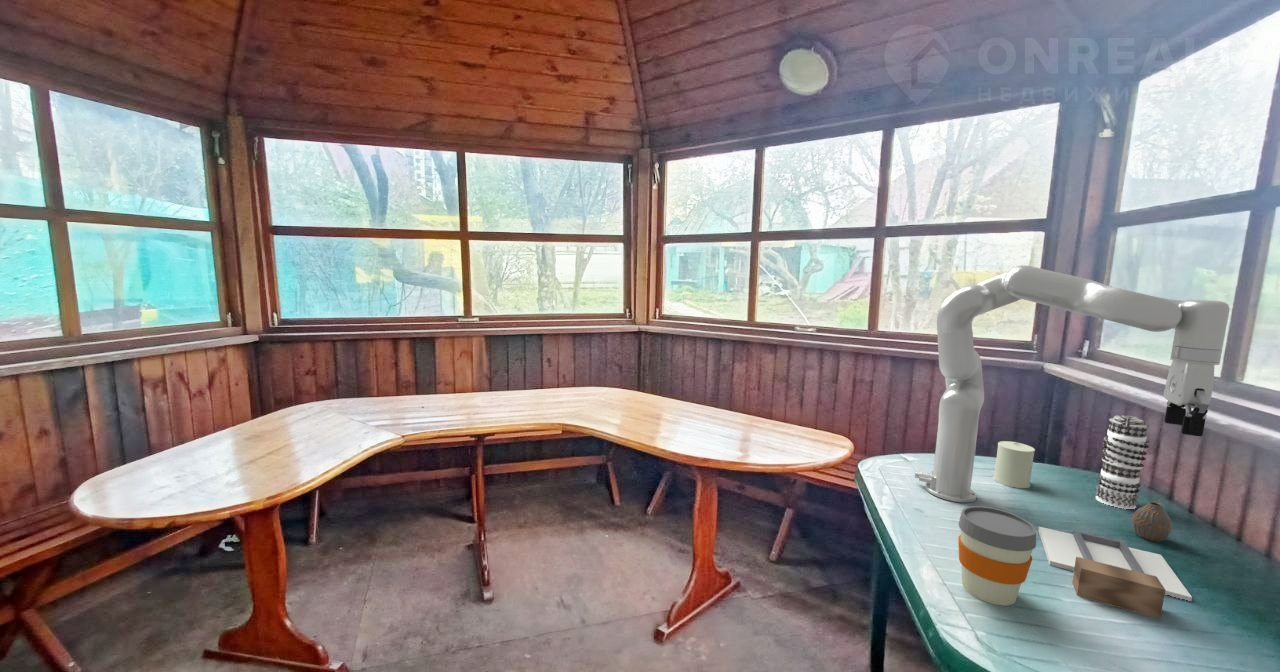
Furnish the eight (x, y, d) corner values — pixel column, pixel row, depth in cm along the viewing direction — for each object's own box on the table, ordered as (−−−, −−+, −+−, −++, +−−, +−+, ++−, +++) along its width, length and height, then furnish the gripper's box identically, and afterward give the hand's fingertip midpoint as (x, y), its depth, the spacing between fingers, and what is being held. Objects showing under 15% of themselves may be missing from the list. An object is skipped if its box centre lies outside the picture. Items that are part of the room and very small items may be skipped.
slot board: (1049, 564, 111) (1051, 554, 111) (1038, 530, 126) (1039, 520, 126) (1191, 601, 100) (1193, 590, 99) (1160, 558, 115) (1161, 548, 114)
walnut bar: (1076, 596, 101) (1081, 568, 100) (1071, 583, 105) (1076, 556, 104) (1160, 619, 94) (1165, 590, 94) (1151, 605, 99) (1156, 576, 98)
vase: (1177, 546, 120) (1183, 512, 119) (1143, 542, 122) (1149, 508, 121) (1154, 532, 127) (1160, 499, 126) (1122, 528, 128) (1128, 495, 127)
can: (1028, 480, 157) (1033, 443, 155) (1031, 491, 149) (1037, 452, 148) (992, 473, 162) (997, 437, 160) (994, 483, 154) (998, 445, 153)
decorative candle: (1147, 511, 139) (1163, 423, 135) (1113, 509, 139) (1128, 421, 135) (1117, 496, 148) (1131, 413, 144) (1085, 495, 148) (1098, 412, 144)
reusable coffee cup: (956, 564, 110) (964, 499, 108) (1028, 589, 102) (1039, 519, 100) (946, 592, 100) (955, 521, 98) (1025, 621, 93) (1037, 545, 90)
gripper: (1158, 349, 122) (1146, 417, 125) (1188, 359, 108) (1174, 436, 110) (1201, 352, 119) (1189, 422, 121) (1239, 363, 104) (1224, 443, 106)
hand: (1182, 429), depth 115 cm, fingers open, 9 cm apart
